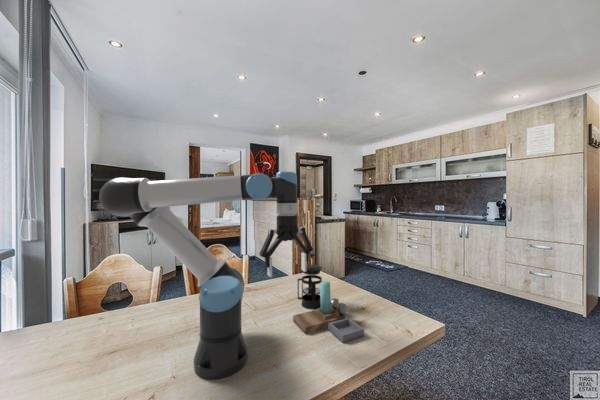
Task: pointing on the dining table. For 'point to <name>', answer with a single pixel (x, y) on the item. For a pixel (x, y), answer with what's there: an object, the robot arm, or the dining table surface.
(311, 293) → the french press
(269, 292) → the dining table surface
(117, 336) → the dining table surface
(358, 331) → the tray
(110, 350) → the dining table surface
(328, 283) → the dowel
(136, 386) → the dining table surface
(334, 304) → the bench dogs
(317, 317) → the brown flat block
